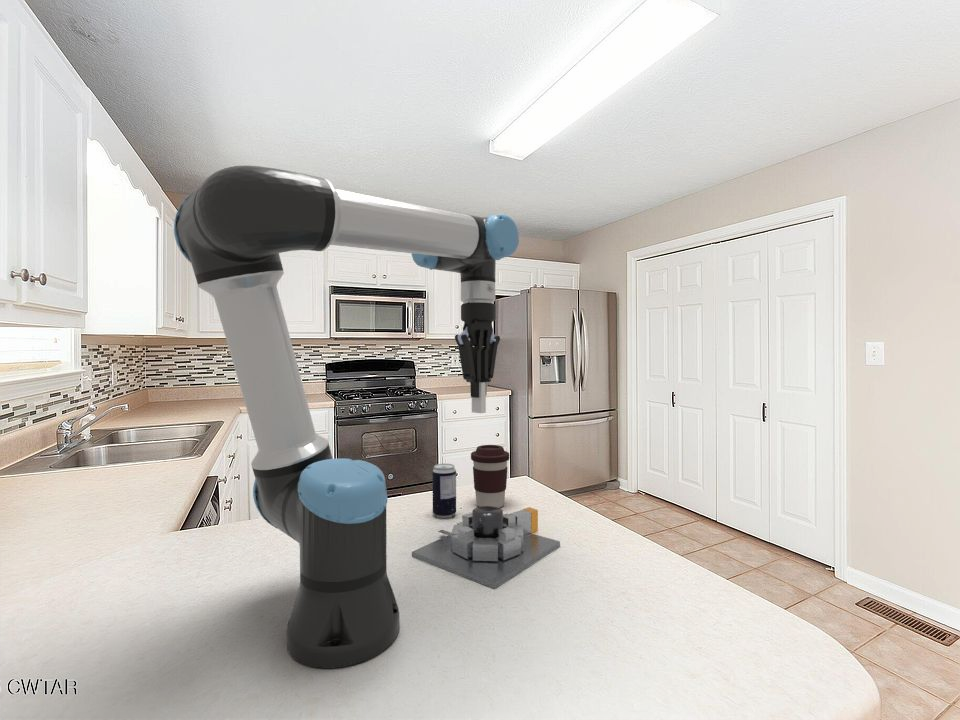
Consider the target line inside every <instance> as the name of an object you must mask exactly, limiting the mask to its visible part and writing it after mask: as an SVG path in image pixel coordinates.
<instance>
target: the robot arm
mask: <svg viewBox="0 0 960 720" xmlns="http://www.w3.org/2000/svg"><path fill="white" fill-rule="evenodd" d="M173 234H174V240H175V242H176V245H177V247H178V249H179V251H180V253H181V254H182V255H183V256H184V258H186V260H187V261H188V262H189V263H190V264H191V266H192V270H193V273H194V276H195V280H196V283H197V286H198V288H199V289H201V290H203V291H204V292H206V293H207V294H209V295H211V297H213V299H214V303H215V306H216V309H217V312H218V315H219V319H220V323H221V325H222V326H221V327H222V330H223V333H224V336H225V339H226V340H225V341H226V344H227V347H228V350H229V353H230V357H231V360H232V364H233V367H234V371H235V374H236V377H237V381H238V385H239V388H240V391H241V392H240V393H241V395H242V398H243V402H244V405H245V408H246V412H247V415H248V418H249V421H250V425H251V429H252V432H253V437H254V439H255V442H256V447H257V449H258V450H257V453H256V454H255V456H254V458H253V459H252V461H251V463H250V466H251V468H252V471H253V475H254V482H253V487H252V498H253V501H254V505H255V507H256V509H257V512H258V513H259V515H260V516H261V517H262V519H263V520H265V521H266V522H267V524H269V525H271V526H272V527H273V528H275V529H278V530H279V531H281V532H282V533H283V534H286V535H287V536H288V537H289V538H291V539H293V540H294V541H295V542H297V543H298V545H299V575H300V576H299V587H298V591H297V593H296V596H295V601H294V603H293V608H292V611H291V615H290V618H289V620H288V622H287V626H286V627H287V628H286V648H287V653H289V655H290V656H291V657H292V658H293V660H295V661H297V662H298V663H301V664H303V665H306V666H309V667H314V668H322V669H323V668H324V669H325V668H326V669H328V668H329V669H332V668H343V667H347V666H353V665H356V664H360V663H362V662H365V661H368V660H370V659H372V658H374V657H376V656H378V655H380V654H381V653H382V652H384V651H385V650H386V649H387V648H389V647H390V646H391V645H392V644H393V643H394V642H395V640H396V639H397V637H398V634H399V632H400V609H399V605H398V603H397V599H396V596H395V593H394V591H393V587H392V585H391V583H390V579H389V577H388V576H389V575H388V572H387V557H388V556H387V504H388V493H387V486H386V485H387V484H386V477H385V475H384V473H383V471H382V470H381V468H379V467H378V466H377V465H375V464H373V463H371V462H368V461H365V460H361V459H355V460H354V459H353V460H352V458H347V457H346V458H344V457H343V458H333V455H332V451H331V448H330V444H329V440H328V439H327V438H325V437H323V436H322V435H319V434H318V433H317V432H316V431H315V425H314V423H313V419H312V415H311V410H310V408H309V404H308V399H307V396H306V392H305V389H304V384H303V381H302V378H301V374H300V369H299V366H298V361H297V358H296V354H295V351H294V347H293V344H292V339H291V335H290V333H289V332H290V331H289V328H288V325H287V322H286V321H287V320H286V317H285V314H284V310H283V305H282V303H281V298H280V294H279V290H278V287H277V286H278V283H279V282H280V280H281V279H282V277H283V275H284V273H285V272H284V268H283V264H282V260H281V257H280V254H281V253H282V254H283V253H288V252H292V251H293V252H295V251H313V252H324V251H325V250H327V249H328V247H330V246H338V247H349V248H358V249H367V250H368V249H369V250H378V251H388V252H396V253H405V254H406V253H407V254H411V256H412V260H413V262H414V263H415V264H416V265H417V266H418V267H421V268H424V269H429V270H430V271H431V270H432V271H433V270H435V271H437V270H438V271H442V272H443V271H444V272H450V273H451V272H452V273H459V274H460V301H461V302H462V304H461V305H460V320H461V321H462V322H464V323H463V326H462V332H461V333H460V334H455V335H454V340H455V343H456V345H457V347H458V353H459V360H460V365H461V366H460V367H461V371H462V378H463V380H464V381H466V382H467V383H470V398H471V413H475V414H486V413H487V411H486V409H487V408H486V406H487V403H486V402H487V401H486V399H487V398H486V397H487V383H490V382H491V381H492V379H493V378H494V374H495V373H494V372H495V368H496V367H495V366H496V359H497V353H498V345H499V343H500V341H501V336H499V335H496V334H495V333H494V328H493V322H494V321H496V318H497V317H496V316H497V311H496V309H497V306H496V305H495V303H494V302H495V301H496V261H500V260H502V259H504V258H508V257H511V256H512V255H513V254H515V252H516V251H517V249H518V247H519V244H520V243H519V242H520V240H519V238H520V236H519V234H520V232H519V229H518V226H517V223H516V221H514V219H513V218H512V217H511V216H509V215H508V214H504V213H498V214H490V215H489V216H485V217H481V216H477V215H470V214H464V213H461V212H459V213H458V212H454V211H449V210H444V209H440V208H435V207H434V208H433V207H429V206H424V205H419V204H415V203H409V202H405V201H404V202H403V201H400V200H394V199H388V198H384V197H380V196H379V197H378V196H374V195H368V194H363V193H358V192H354V191H348V190H346V189H345V190H344V189H339V188H334V186H333V184H332V183H331V182H330V181H329V180H328V179H327V178H325V177H321V176H320V177H319V176H315V175H310V174H306V173H302V172H301V173H300V172H296V171H291V170H285V169H280V168H274V167H273V168H272V167H266V166H260V165H259V166H258V165H233V166H229V167H224V168H221V169H219V170H217V171H215V172H214V173H212V174H211V175H209V176H208V177H207V178H206V179H204V181H203V182H202V183H201V185H200V186H199V187H198V188H196V190H194V191H193V192H191V194H189V195H188V196H187V197H185V198H184V199H183V201H182V202H181V204H180V205H179V207H178V208H177V212H176V214H175V218H174V222H173Z"/></svg>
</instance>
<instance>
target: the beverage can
mask: <svg viewBox="0 0 960 720" xmlns="http://www.w3.org/2000/svg"><path fill="white" fill-rule="evenodd" d="M431 474H432V513H433V515H435V517H436V518H439V519H449V518H451V517H454V515H455V513H456V512H457V470H456V467H455V464H453V463H437V464H435V465H434V466H433V470H432V473H431Z"/></svg>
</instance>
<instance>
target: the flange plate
mask: <svg viewBox="0 0 960 720" xmlns="http://www.w3.org/2000/svg"><path fill="white" fill-rule="evenodd" d="M471 513H472V529H474V537H476V538H498V537H499V530H501V529H503V515H504V511H503V509H502V508H501V507H500V508H497V507H492V506H483V507H479V506H477V507H475V508H473V509H472V512H471ZM437 532H438V533H440V534H443V535H446V536H444V537H441V538H440V539H437V540H435V541H432V542H430V543H428V544H425V545H423V546H421V547H418V548H417V549H415V550H413V551H411V557H412V558H414V559H417V560H419V561H421V562H424V563H426V564H430V565H431V566H435V567H437V568H440V569H442V570H444V571H447V572H451V573H453V574H455V575H457V576H460V577H463V578H466V579H468V580H470V581H473V582H476V583H478V584H480V585H483V586H486V587H489V588H491V589H495V590H496V589H497V588H498V587H500V586H502V585H503V584H504V583H506V582H507V581H510V579H512V578H514V577H515V576H517V575H518V574H520V573H521V572H523V571H525V570H526V569H527V568H529V567H531V566H532V565H534V564H535V563H537V562H538V561H540V560H541V559H543V558H544V557H546V556H548V555H549V554H551V553H552V552H554V551H555V550H557V549H558V548H560V547H561V541H559V540H556V539H552V538H549V537H545V536H542V535H538V531H536V532H534V533H530V534H527V535H524V536H523V551H521V554H519V555H516V556H514V557H511V558H509V559H506V560H501V559H499V558H498V561H473V558H470V559H466V558H464V557H462V556H460V555H458V554H456V553H454V552H452V549H451V532H450V531H446V530H443V529H440V530H438V531H437ZM536 533H537V534H536Z"/></svg>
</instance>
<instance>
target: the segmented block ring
mask: <svg viewBox="0 0 960 720" xmlns="http://www.w3.org/2000/svg"><path fill="white" fill-rule="evenodd" d="M536 531H537V532H539V509H537V508H533V507H530V506H528V507H526V508H523V509H520V510H517V511H514V512H513V511H512V512H511V513H503V529H501V530H499V537H498V538H476V537H474V529H472V512H469V513H465V514H462V521H461V522H460V521H459V522H457V523H456V524H455V525H453V527H452V530H451V532H450V533H451V549H452V552H454V553H456V554H458V555H460V556H462V557H464V558H466V559H470V558H473V561H498V558H499V559H501V560H506V559H509V558H511V557H514V556H516V555H519V554H521V551H523V536H524V535H527V534H530V533H534V532H536ZM534 534H535V533H534Z"/></svg>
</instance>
